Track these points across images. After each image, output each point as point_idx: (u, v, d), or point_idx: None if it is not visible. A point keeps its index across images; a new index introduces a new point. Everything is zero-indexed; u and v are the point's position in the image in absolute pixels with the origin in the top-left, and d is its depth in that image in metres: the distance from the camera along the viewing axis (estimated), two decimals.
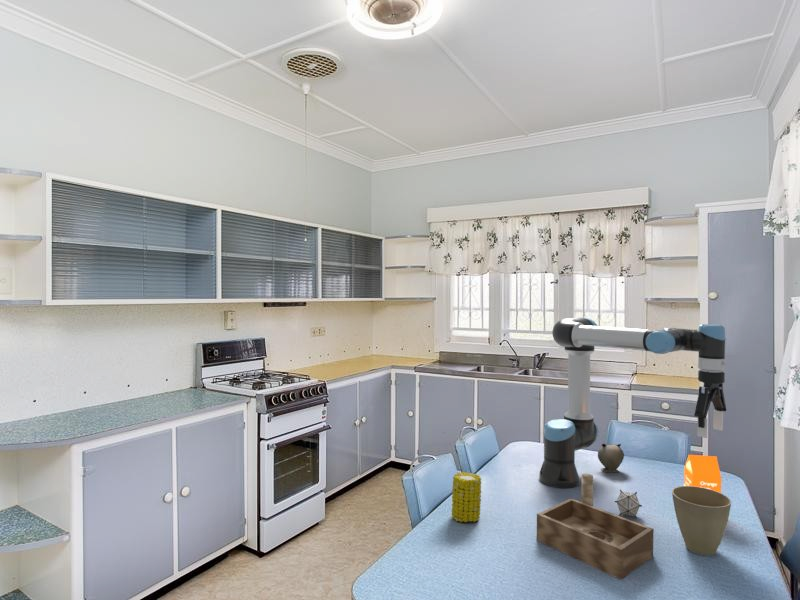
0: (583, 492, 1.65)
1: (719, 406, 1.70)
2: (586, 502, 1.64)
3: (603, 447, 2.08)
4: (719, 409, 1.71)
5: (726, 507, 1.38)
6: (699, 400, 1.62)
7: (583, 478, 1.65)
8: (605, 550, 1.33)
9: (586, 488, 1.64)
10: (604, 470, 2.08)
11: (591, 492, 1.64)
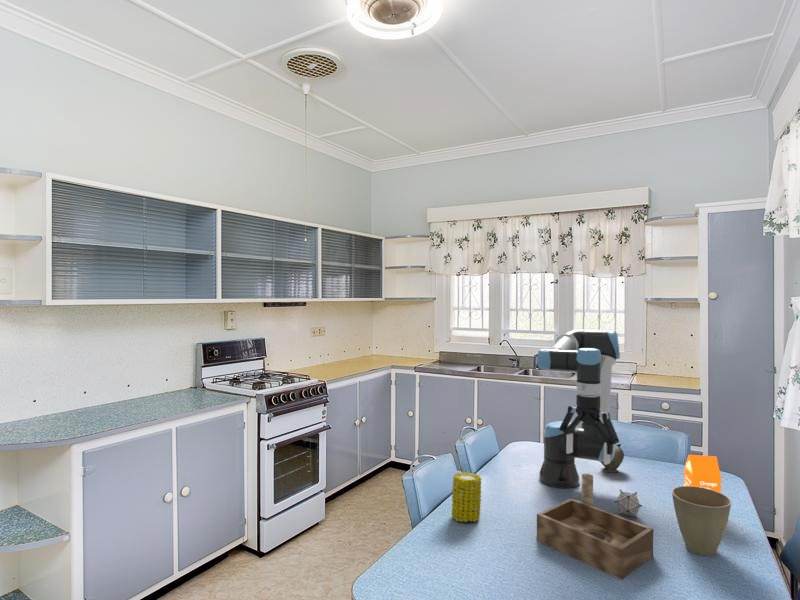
0: (583, 492, 1.65)
1: None
2: (586, 502, 1.64)
3: None
4: None
5: (726, 507, 1.38)
6: None
7: (583, 478, 1.65)
8: (605, 550, 1.33)
9: (586, 488, 1.64)
10: (604, 470, 2.08)
11: (591, 492, 1.64)
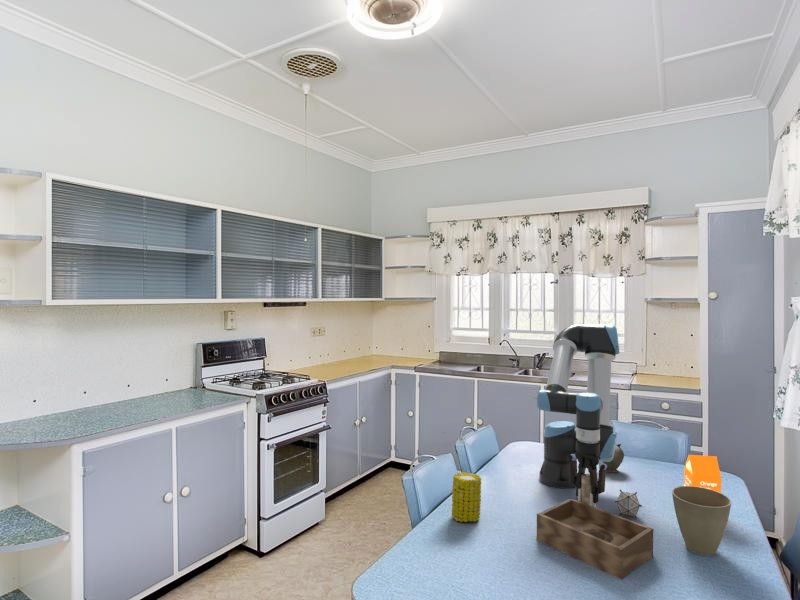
0: (583, 492, 1.65)
1: None
2: (586, 502, 1.64)
3: None
4: None
5: (726, 507, 1.38)
6: None
7: (583, 478, 1.65)
8: (605, 550, 1.33)
9: (586, 488, 1.64)
10: None
11: None
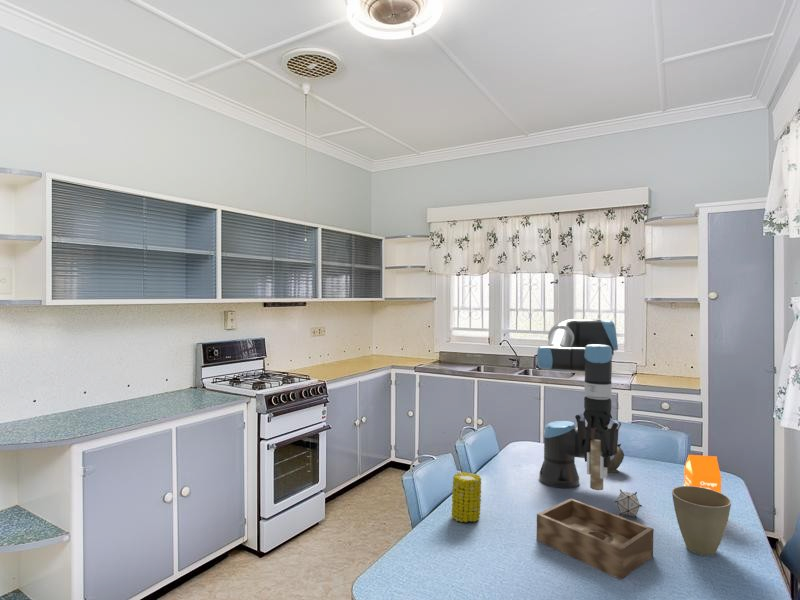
0: (592, 459, 1.46)
1: None
2: (596, 471, 1.45)
3: None
4: None
5: (726, 507, 1.38)
6: None
7: (592, 444, 1.46)
8: (605, 550, 1.33)
9: (596, 455, 1.45)
10: None
11: None
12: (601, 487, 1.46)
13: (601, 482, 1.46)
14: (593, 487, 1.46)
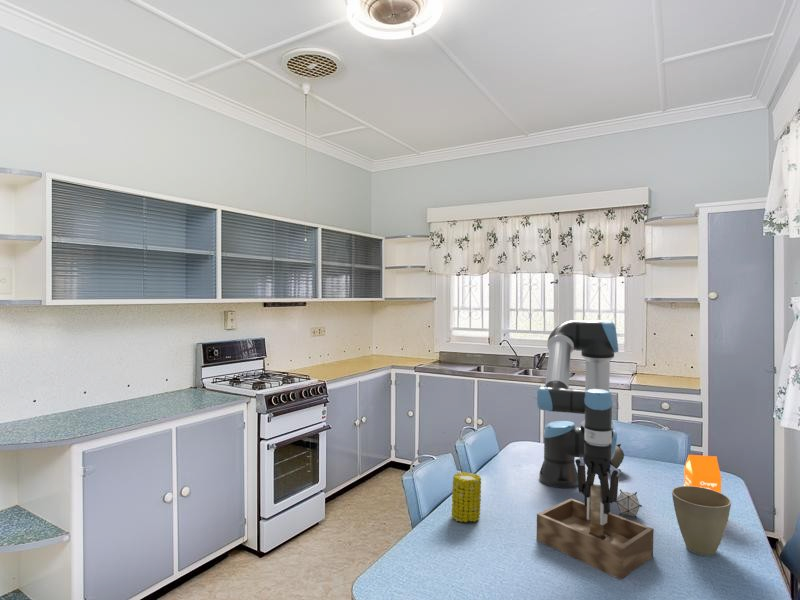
0: (592, 505, 1.46)
1: None
2: (596, 517, 1.45)
3: None
4: None
5: (726, 507, 1.38)
6: None
7: (592, 490, 1.46)
8: (605, 550, 1.33)
9: (596, 501, 1.45)
10: None
11: None
12: (601, 533, 1.45)
13: (601, 528, 1.45)
14: (593, 533, 1.46)
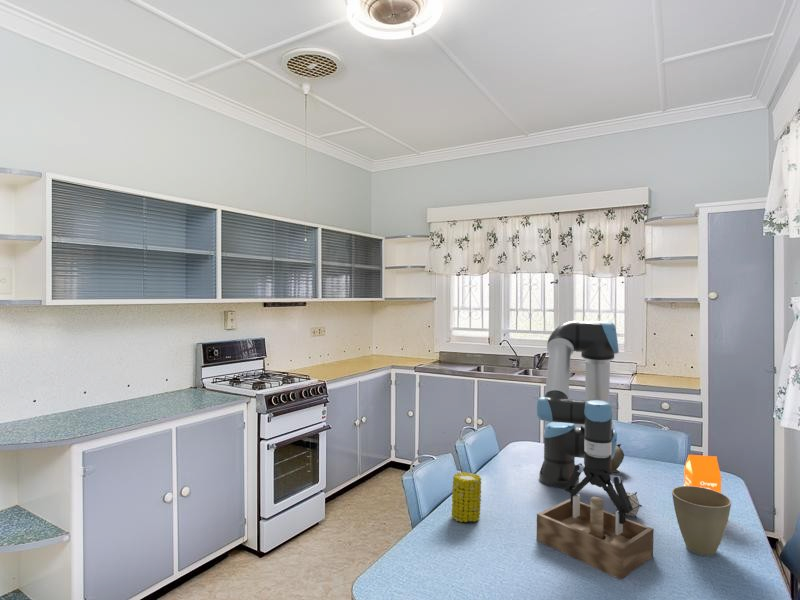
0: (592, 518, 1.46)
1: None
2: (596, 529, 1.45)
3: None
4: None
5: (726, 507, 1.38)
6: None
7: (592, 502, 1.46)
8: (605, 550, 1.33)
9: (596, 513, 1.45)
10: None
11: (601, 518, 1.45)
12: None
13: None
14: None
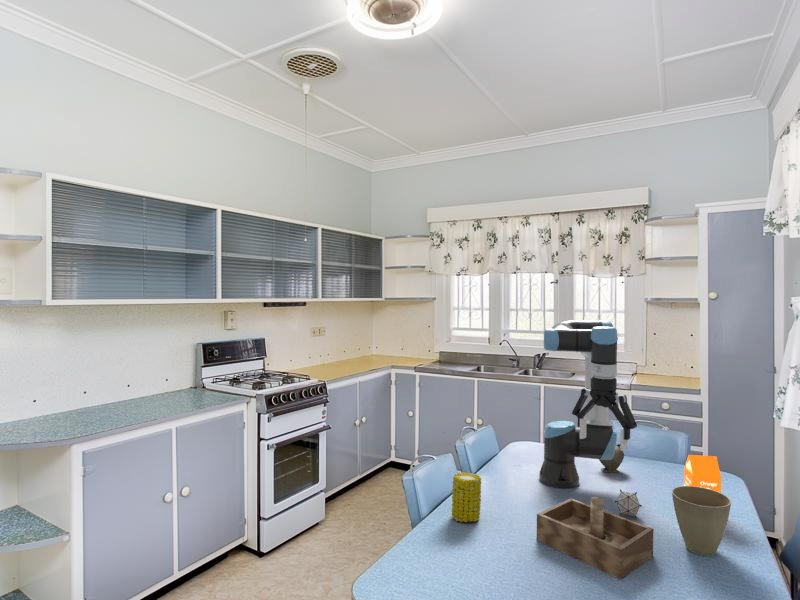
0: (592, 518, 1.46)
1: None
2: (596, 529, 1.45)
3: None
4: None
5: (726, 507, 1.38)
6: None
7: (592, 502, 1.46)
8: (605, 550, 1.33)
9: (596, 513, 1.45)
10: (604, 470, 2.08)
11: (601, 518, 1.45)
12: None
13: None
14: None
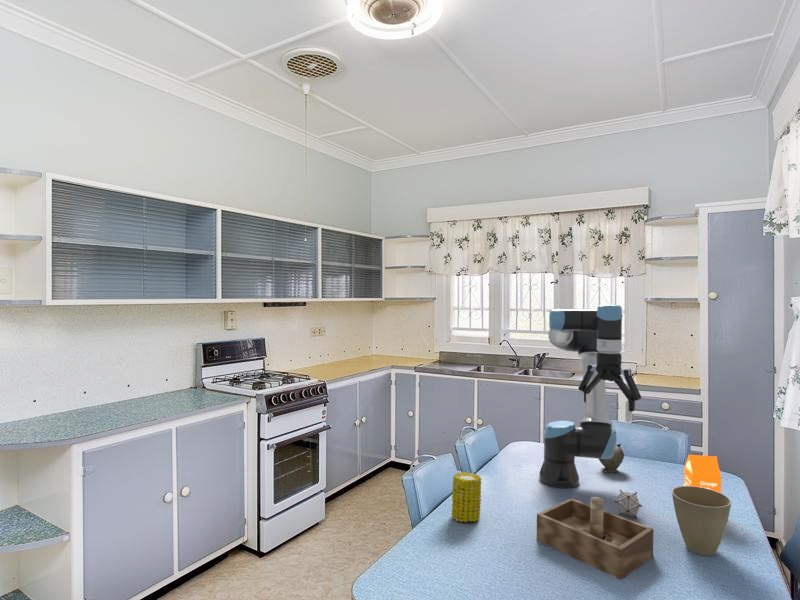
0: (592, 518, 1.46)
1: None
2: (596, 529, 1.45)
3: None
4: None
5: (726, 507, 1.38)
6: None
7: (592, 502, 1.46)
8: (605, 550, 1.33)
9: (596, 514, 1.45)
10: (604, 470, 2.08)
11: (601, 518, 1.45)
12: None
13: None
14: None
